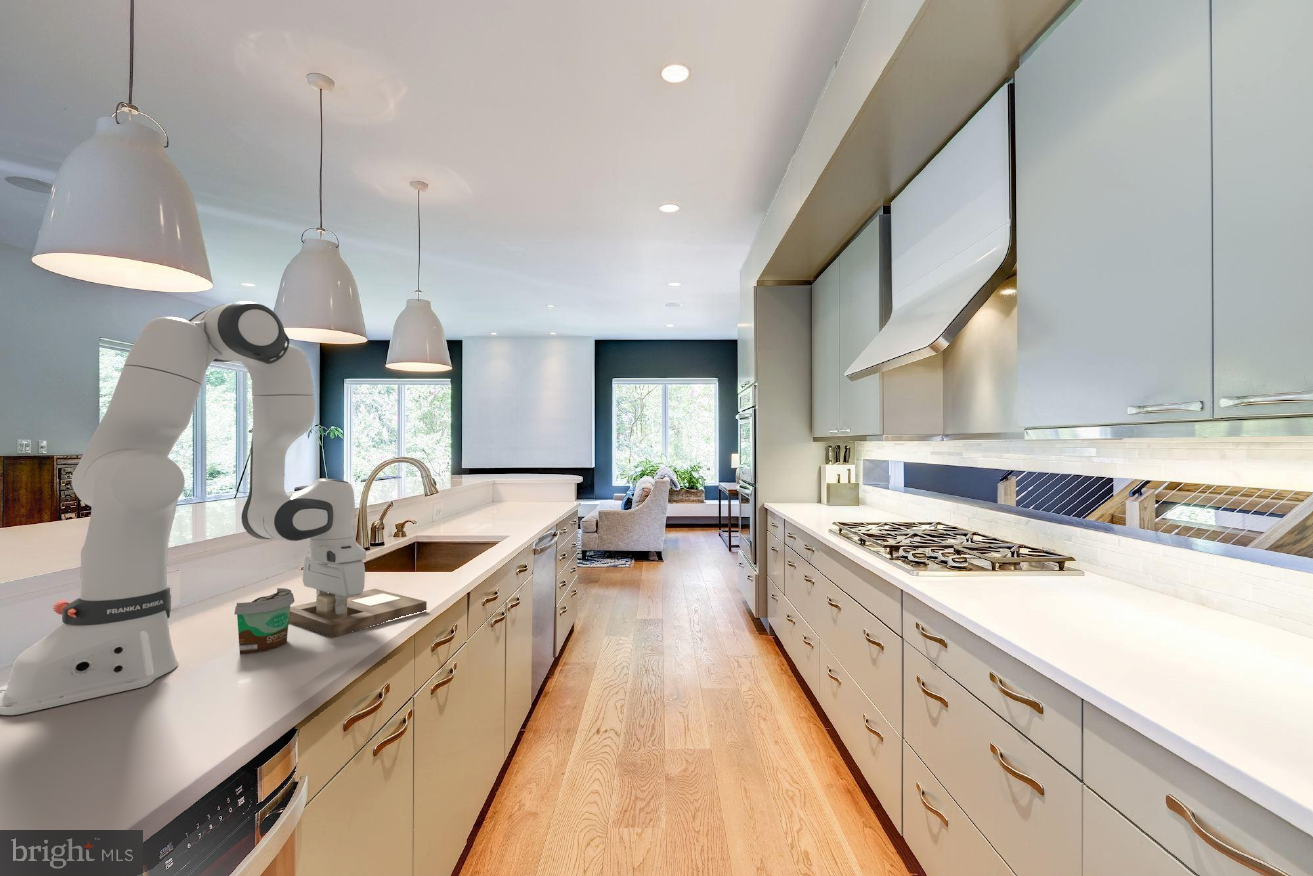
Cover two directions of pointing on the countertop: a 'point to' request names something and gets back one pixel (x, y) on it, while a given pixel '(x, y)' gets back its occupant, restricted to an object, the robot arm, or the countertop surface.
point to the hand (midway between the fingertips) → (331, 611)
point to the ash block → (328, 606)
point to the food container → (264, 622)
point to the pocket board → (357, 612)
